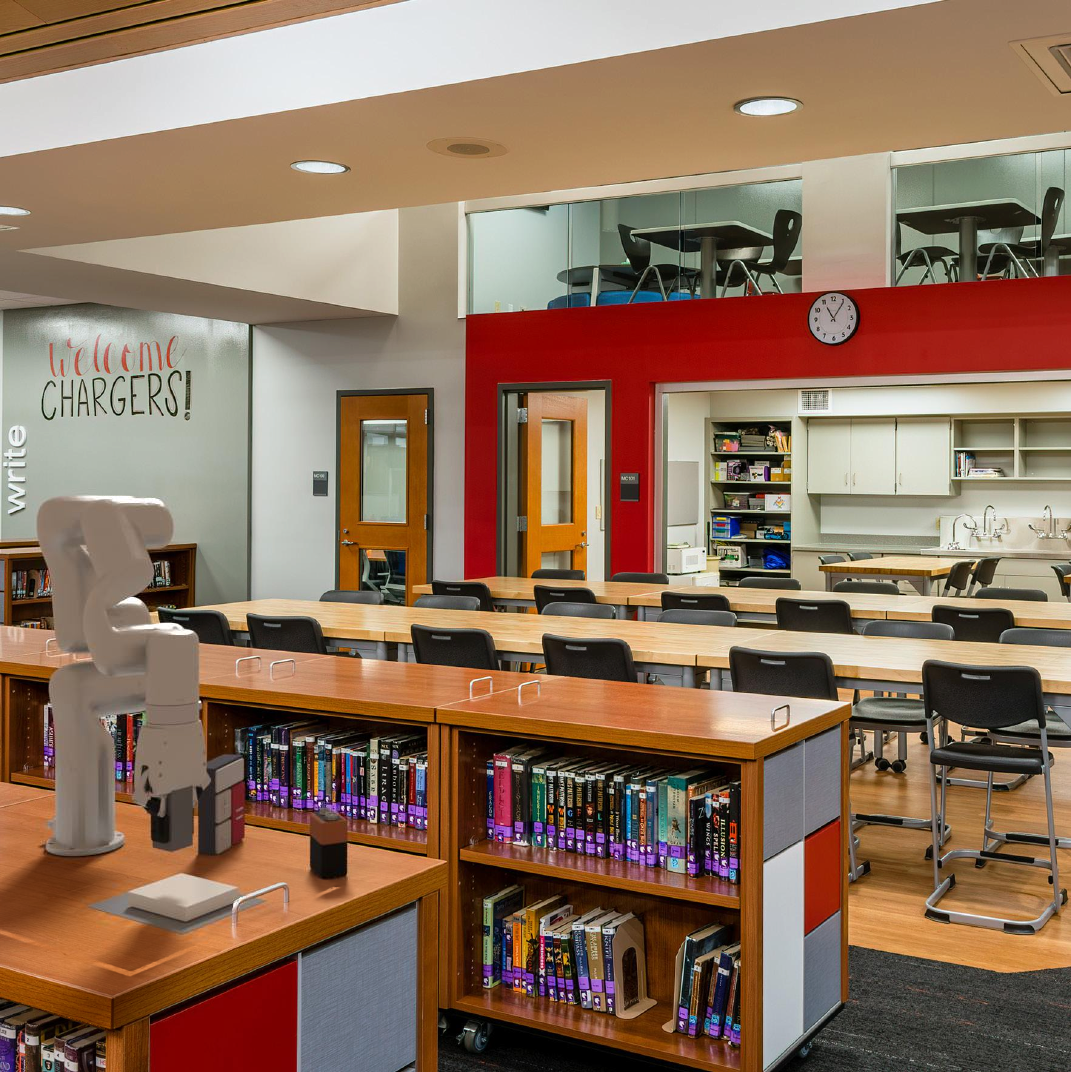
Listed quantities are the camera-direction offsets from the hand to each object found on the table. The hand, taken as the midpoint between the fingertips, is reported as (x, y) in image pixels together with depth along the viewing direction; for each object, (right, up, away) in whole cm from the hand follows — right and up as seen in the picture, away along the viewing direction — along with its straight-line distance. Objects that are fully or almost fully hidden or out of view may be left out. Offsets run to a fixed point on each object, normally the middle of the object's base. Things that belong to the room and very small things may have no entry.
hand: (172, 836), depth 173 cm
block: (0, -1, 0) cm, 1 cm away
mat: (+1, -10, 0) cm, 10 cm away
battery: (+20, -10, +16) cm, 28 cm away
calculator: (0, -9, +29) cm, 30 cm away
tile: (-3, -8, +2) cm, 9 cm away
